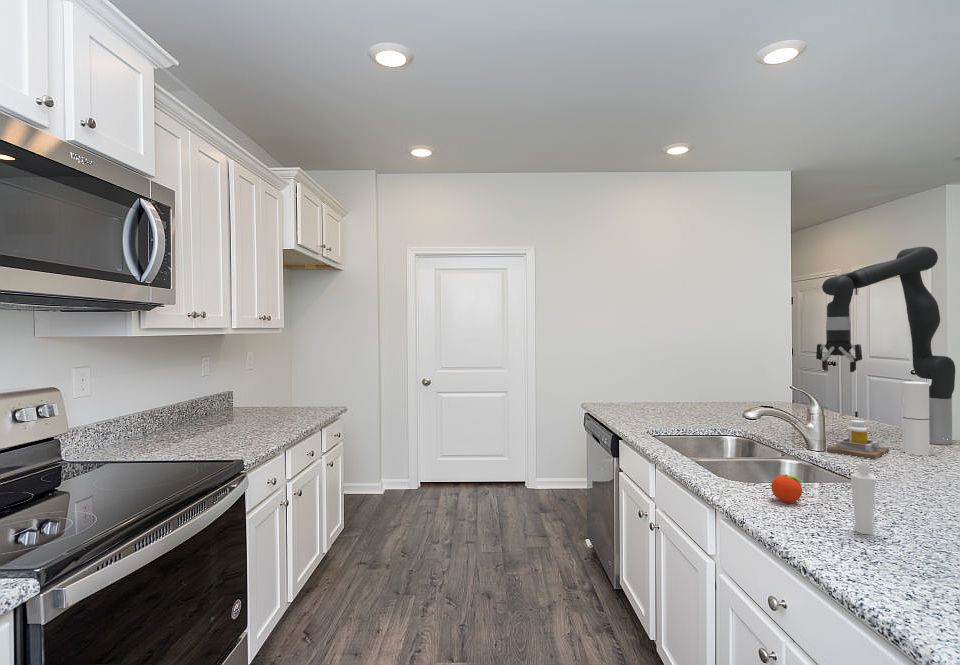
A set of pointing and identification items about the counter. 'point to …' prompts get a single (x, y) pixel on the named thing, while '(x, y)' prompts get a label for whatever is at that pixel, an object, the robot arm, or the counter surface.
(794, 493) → the clementine
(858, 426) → the supplement bottle
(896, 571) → the counter surface
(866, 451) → the socket board
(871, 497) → the perfume bottle
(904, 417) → the cylindrical container
